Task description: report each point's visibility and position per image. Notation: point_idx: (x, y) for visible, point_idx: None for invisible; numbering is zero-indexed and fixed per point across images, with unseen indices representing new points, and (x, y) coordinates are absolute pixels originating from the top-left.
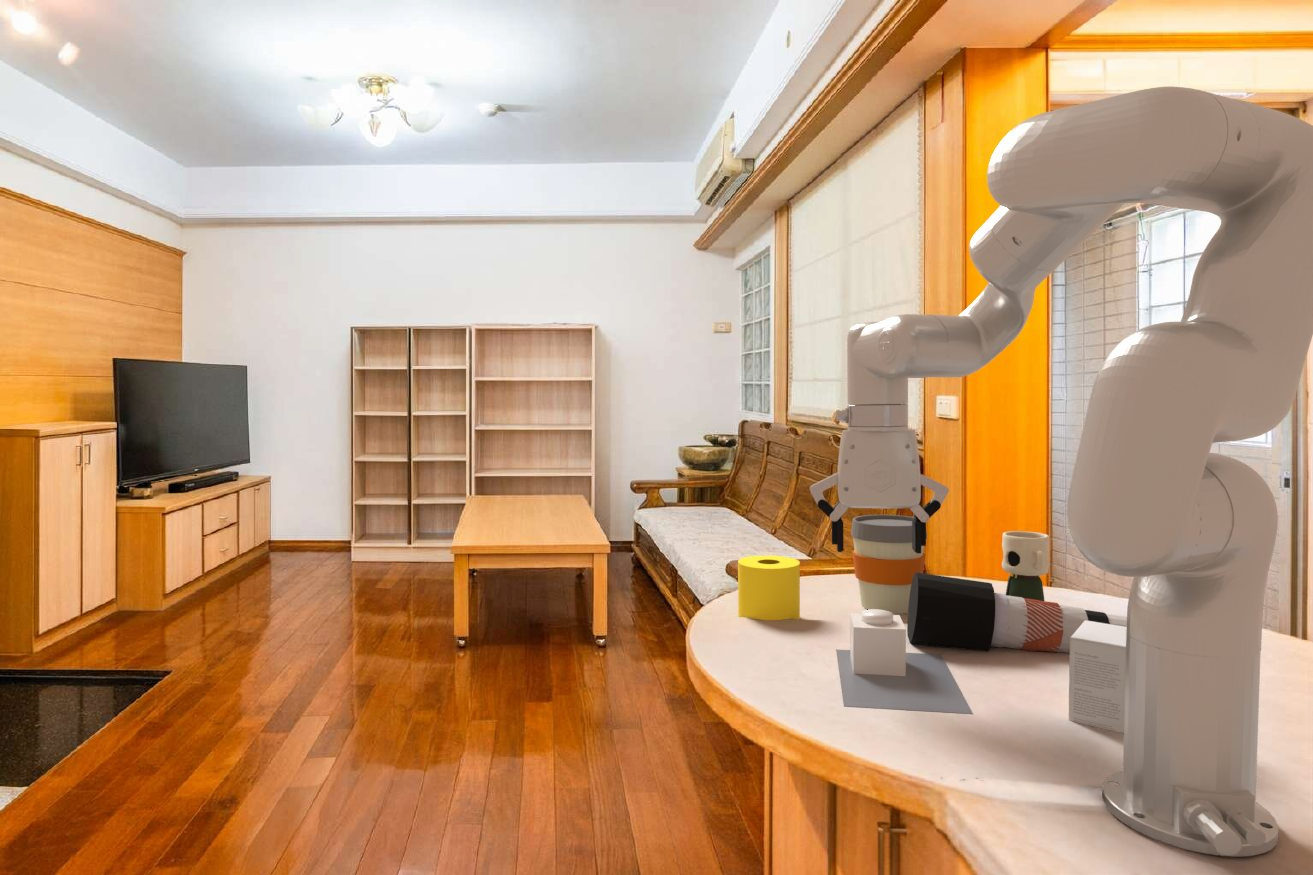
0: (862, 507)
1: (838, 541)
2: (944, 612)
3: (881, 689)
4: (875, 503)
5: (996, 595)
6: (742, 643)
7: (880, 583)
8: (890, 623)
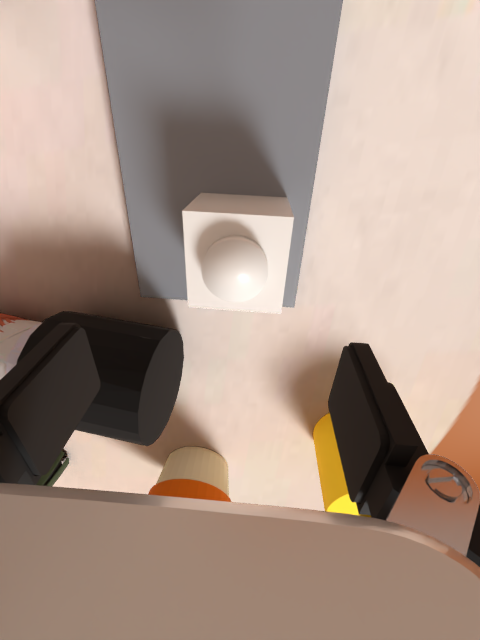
0: (295, 510)
1: (377, 368)
2: (111, 342)
3: (251, 112)
4: (183, 534)
5: None
6: (421, 349)
7: (202, 482)
8: (211, 245)
